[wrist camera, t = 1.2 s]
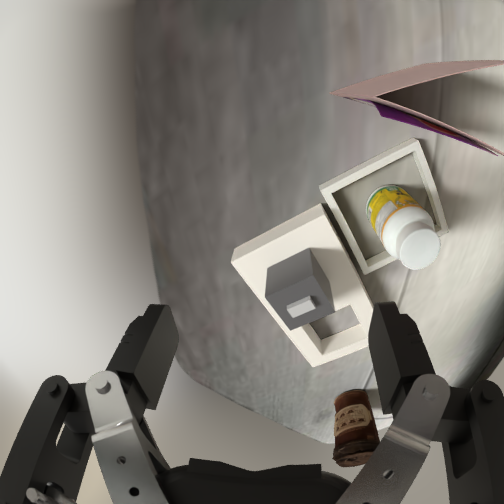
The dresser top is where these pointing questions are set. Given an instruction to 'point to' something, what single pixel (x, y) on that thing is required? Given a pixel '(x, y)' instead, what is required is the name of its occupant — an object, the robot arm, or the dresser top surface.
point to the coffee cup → (354, 429)
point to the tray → (368, 168)
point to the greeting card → (409, 77)
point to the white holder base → (307, 283)
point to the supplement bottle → (403, 227)
